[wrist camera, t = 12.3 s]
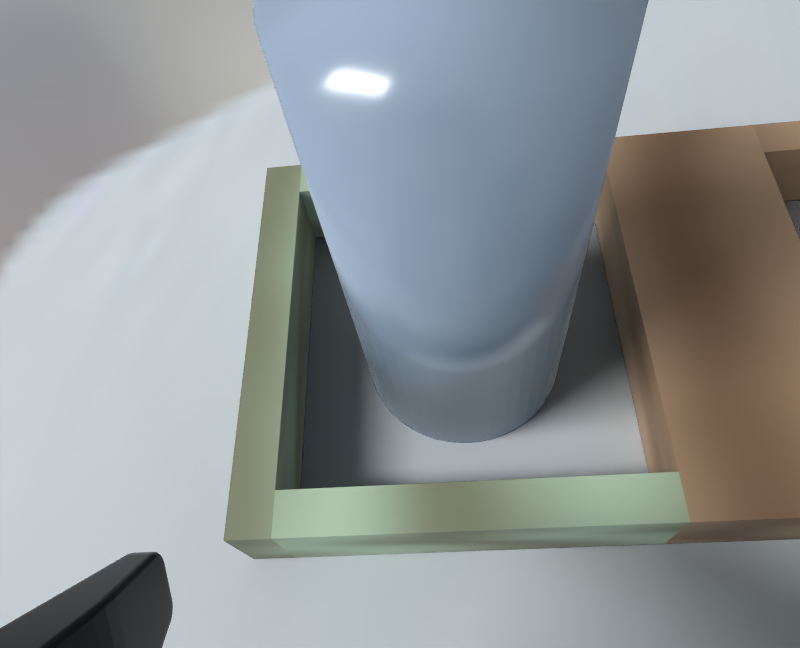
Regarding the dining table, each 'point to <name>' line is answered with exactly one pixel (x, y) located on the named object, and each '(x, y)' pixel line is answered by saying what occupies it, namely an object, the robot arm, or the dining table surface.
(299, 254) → the caddy
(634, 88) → the dining table surface
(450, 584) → the dining table surface
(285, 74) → the canister
